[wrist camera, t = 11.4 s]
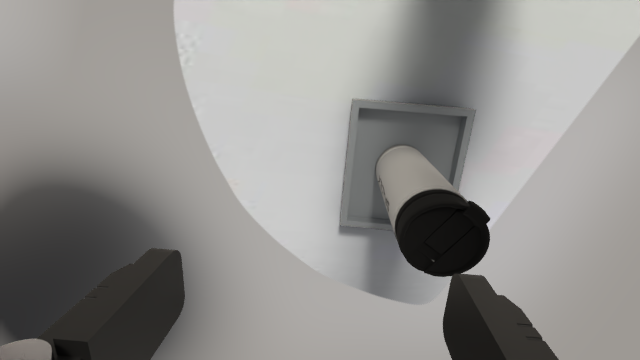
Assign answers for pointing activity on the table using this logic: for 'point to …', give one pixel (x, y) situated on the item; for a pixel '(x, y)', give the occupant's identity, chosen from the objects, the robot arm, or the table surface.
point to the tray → (393, 129)
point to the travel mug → (430, 214)
